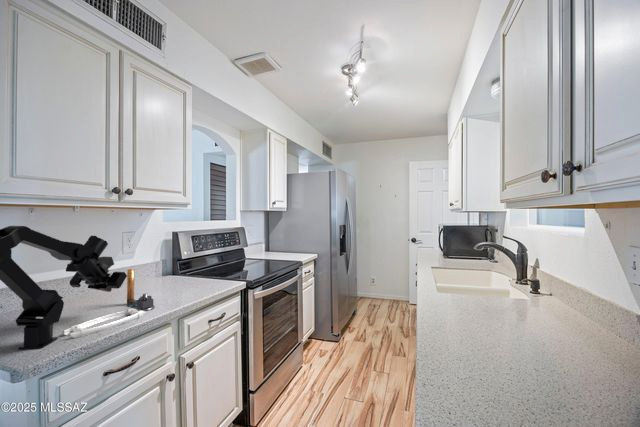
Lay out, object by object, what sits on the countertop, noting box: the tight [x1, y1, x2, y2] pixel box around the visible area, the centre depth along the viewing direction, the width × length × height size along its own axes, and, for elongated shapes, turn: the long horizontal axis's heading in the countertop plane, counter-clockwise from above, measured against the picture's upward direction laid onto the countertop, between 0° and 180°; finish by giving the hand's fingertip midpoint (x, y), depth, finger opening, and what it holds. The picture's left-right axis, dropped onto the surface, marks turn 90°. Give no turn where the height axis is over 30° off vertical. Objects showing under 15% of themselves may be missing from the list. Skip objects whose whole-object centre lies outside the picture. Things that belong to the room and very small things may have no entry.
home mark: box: [126, 304, 137, 308], centre depth 125 cm, size 3×3×1 cm
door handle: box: [61, 307, 147, 339], centre depth 104 cm, size 3×10×25 cm
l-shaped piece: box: [126, 268, 154, 309], centre depth 123 cm, size 15×4×15 cm, turn 61°
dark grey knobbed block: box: [134, 293, 156, 312], centre depth 121 cm, size 7×7×6 cm
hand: (110, 290), depth 116 cm, fingers closed
